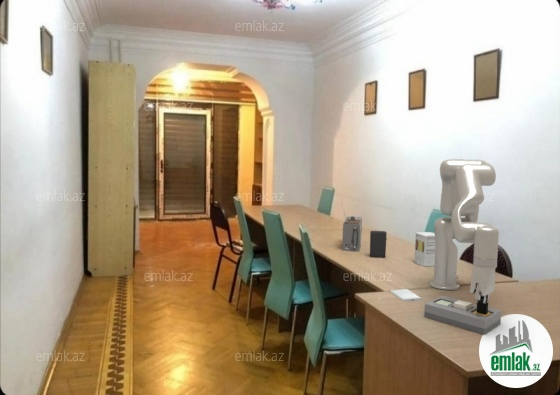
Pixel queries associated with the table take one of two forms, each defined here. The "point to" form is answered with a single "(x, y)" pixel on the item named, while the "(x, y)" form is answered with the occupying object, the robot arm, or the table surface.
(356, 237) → the portable television
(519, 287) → the table surface
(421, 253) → the supplement box
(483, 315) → the amber key
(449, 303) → the sage key
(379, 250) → the card reader
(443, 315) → the key console
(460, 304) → the middle key
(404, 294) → the hard drive
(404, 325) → the table surface
